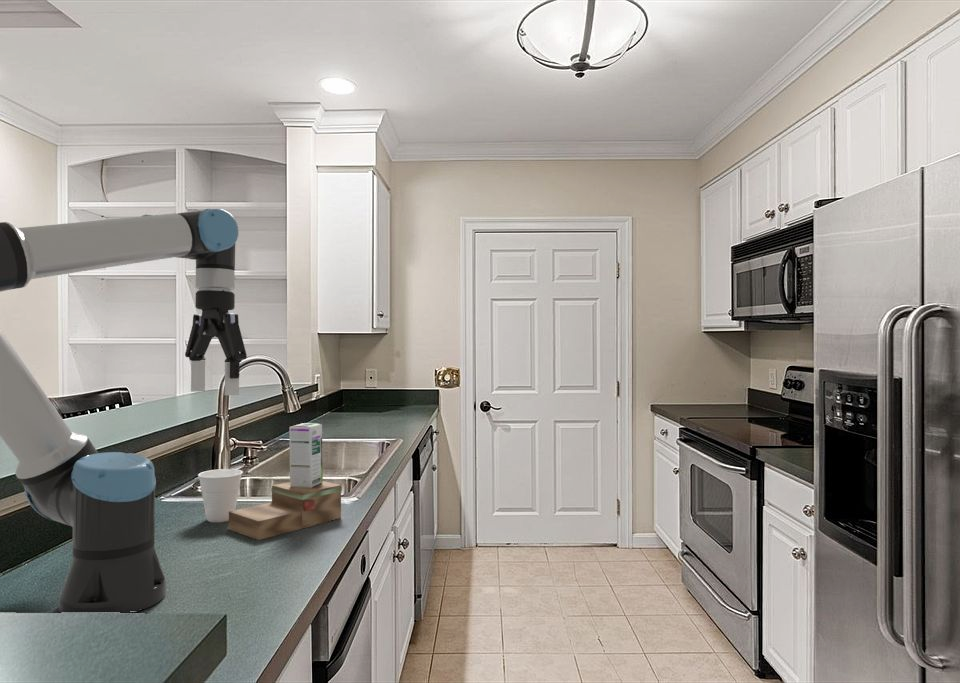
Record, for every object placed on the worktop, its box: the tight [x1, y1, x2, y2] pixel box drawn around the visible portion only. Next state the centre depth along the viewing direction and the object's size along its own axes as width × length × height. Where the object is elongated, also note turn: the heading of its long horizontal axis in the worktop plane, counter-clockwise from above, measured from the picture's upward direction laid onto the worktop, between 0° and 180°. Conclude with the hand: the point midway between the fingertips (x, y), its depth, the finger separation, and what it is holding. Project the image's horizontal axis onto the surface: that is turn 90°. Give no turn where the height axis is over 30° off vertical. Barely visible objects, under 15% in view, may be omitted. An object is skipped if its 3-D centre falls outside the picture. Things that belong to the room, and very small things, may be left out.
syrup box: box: [288, 422, 324, 488], centre depth 155 cm, size 6×6×14 cm
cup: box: [197, 468, 244, 524], centre depth 154 cm, size 10×10×11 cm
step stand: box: [228, 480, 343, 541], centre depth 151 cm, size 22×13×8 cm, turn 141°
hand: (214, 393), depth 135 cm, fingers open, 13 cm apart
